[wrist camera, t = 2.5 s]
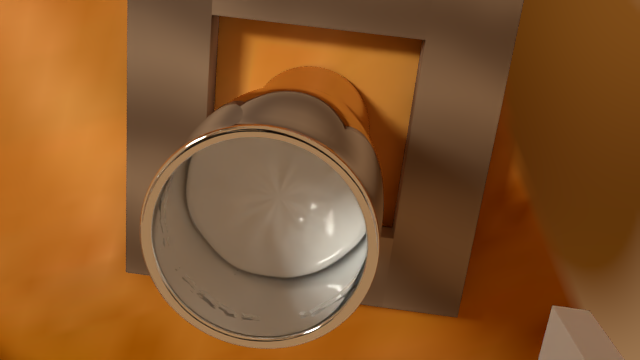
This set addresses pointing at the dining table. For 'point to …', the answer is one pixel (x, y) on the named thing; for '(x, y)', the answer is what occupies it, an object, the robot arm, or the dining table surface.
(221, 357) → the dining table surface
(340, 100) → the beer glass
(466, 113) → the pocket frame
